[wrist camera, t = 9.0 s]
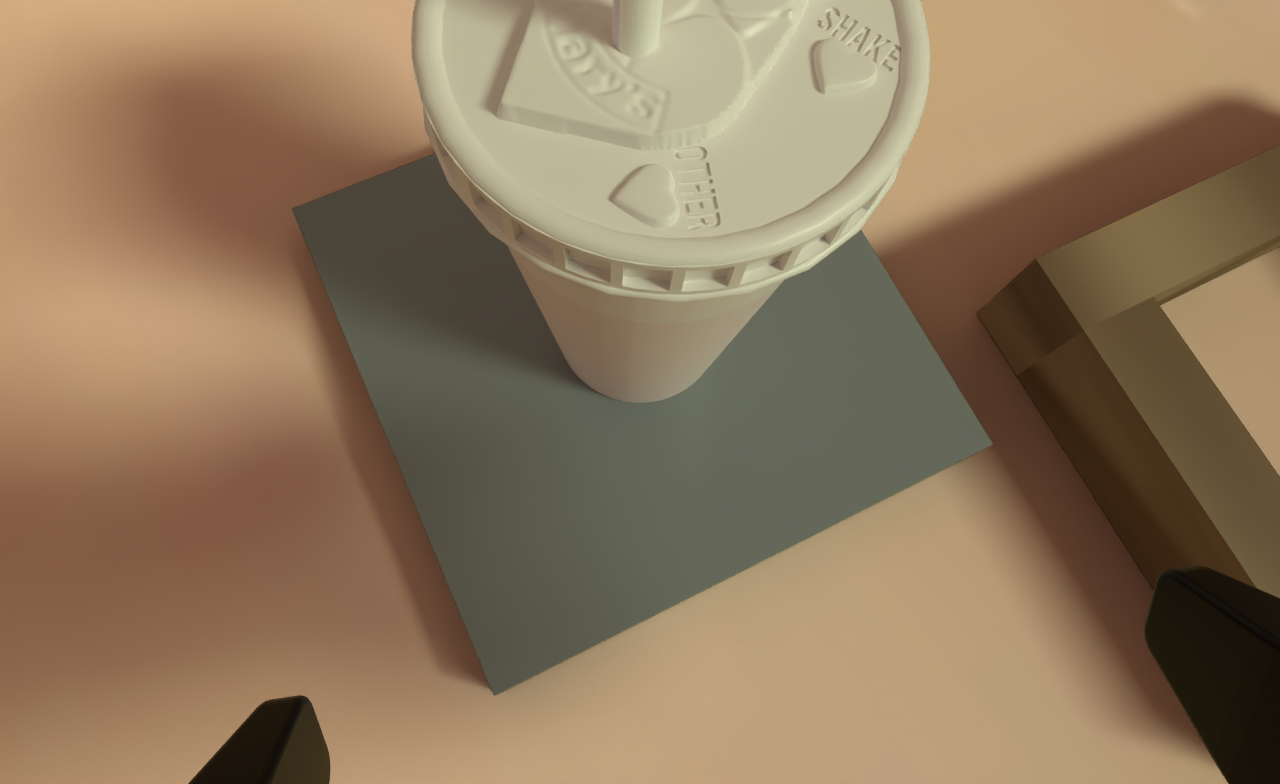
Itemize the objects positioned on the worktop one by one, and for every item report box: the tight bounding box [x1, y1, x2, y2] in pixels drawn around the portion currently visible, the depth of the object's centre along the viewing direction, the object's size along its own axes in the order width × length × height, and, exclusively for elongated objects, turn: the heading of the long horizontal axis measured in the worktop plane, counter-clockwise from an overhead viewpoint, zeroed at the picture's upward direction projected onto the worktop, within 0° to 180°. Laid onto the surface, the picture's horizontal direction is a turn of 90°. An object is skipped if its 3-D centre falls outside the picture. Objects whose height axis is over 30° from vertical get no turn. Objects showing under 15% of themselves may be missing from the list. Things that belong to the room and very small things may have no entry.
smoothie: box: [411, 0, 930, 403], centre depth 13 cm, size 6×6×14 cm
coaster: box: [292, 153, 993, 696], centre depth 20 cm, size 12×12×1 cm
